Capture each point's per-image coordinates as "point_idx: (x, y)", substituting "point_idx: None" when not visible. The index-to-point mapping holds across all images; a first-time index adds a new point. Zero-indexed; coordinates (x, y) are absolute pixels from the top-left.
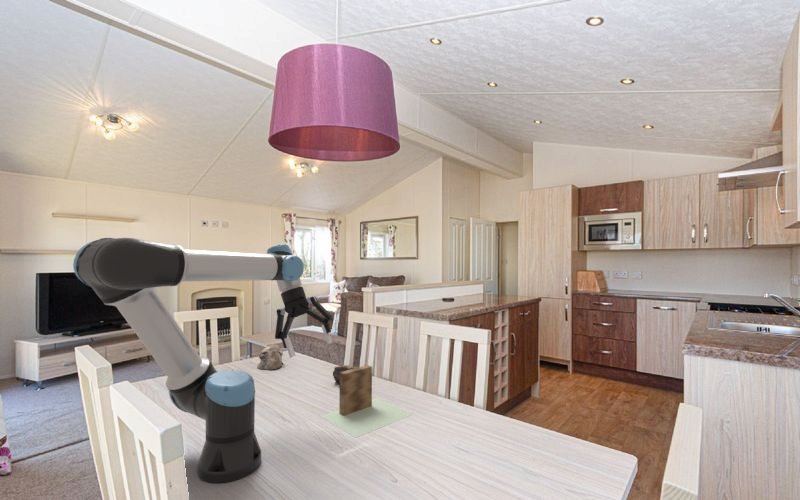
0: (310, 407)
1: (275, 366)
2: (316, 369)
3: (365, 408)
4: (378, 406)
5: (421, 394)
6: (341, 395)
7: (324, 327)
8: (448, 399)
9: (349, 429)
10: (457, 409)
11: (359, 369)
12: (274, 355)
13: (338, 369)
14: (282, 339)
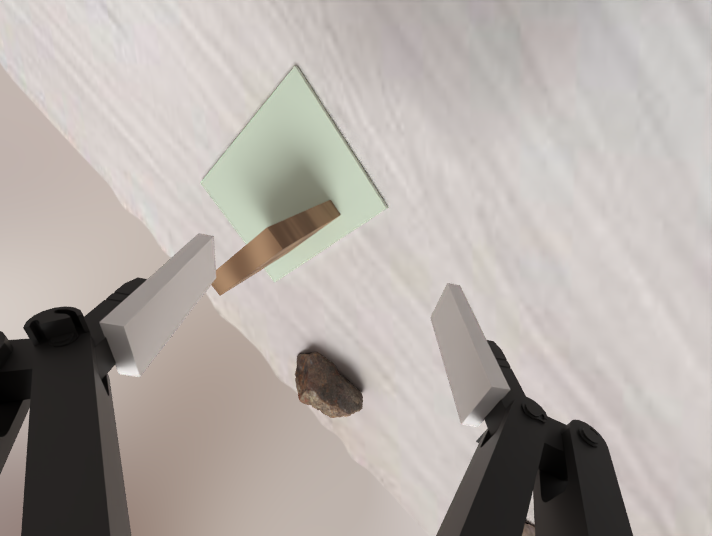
0: (413, 277)
1: None
2: (407, 472)
3: None
4: None
5: None
6: (313, 219)
7: (122, 307)
8: (161, 247)
9: (311, 116)
10: (143, 201)
11: (231, 261)
12: None
13: (341, 404)
14: (522, 401)
